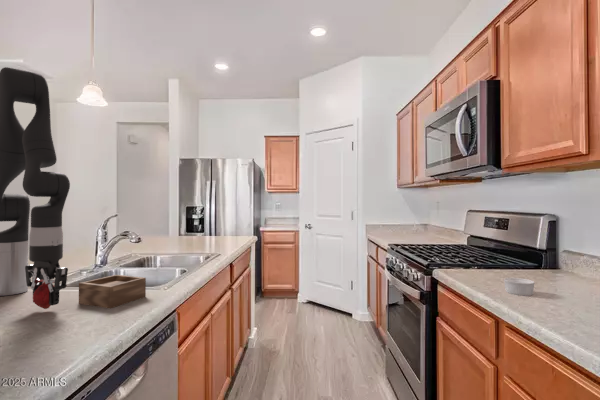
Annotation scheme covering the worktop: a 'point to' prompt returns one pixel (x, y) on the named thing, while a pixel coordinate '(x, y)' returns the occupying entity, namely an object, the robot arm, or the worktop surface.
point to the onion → (42, 296)
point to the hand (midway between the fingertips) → (45, 303)
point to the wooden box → (112, 291)
